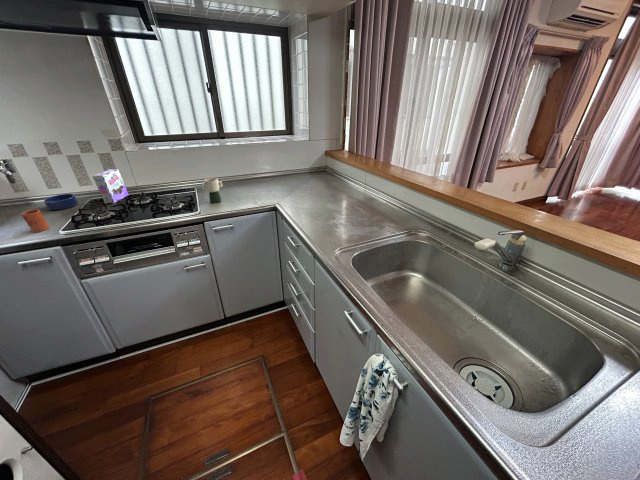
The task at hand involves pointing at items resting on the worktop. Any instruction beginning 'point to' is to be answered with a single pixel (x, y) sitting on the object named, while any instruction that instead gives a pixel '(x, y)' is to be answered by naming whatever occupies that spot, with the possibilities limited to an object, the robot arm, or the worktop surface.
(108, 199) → the candy box
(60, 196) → the bowl
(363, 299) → the worktop surface
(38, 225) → the cup
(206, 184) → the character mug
